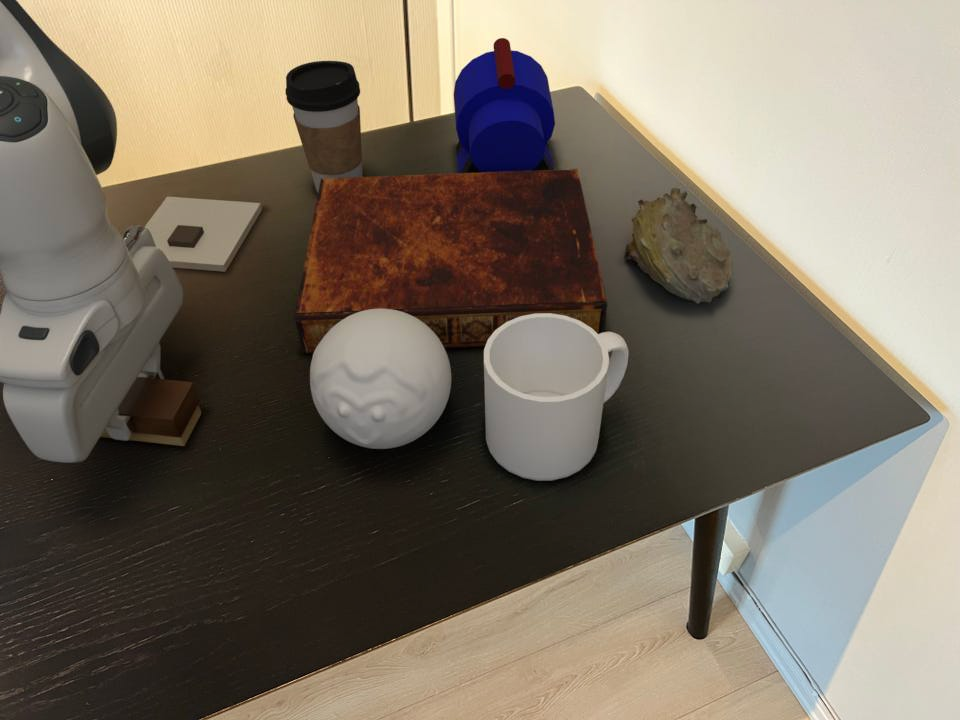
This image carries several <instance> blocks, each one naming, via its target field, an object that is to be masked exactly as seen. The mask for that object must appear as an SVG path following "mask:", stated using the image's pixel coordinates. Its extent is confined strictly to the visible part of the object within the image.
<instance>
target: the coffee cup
mask: <svg viewBox="0 0 960 720" xmlns="http://www.w3.org/2000/svg"><path fill="white" fill-rule="evenodd" d="M285 86H286V87H285V96H286V101H287V103H288V104H289V105H290V106H291V107H292V111H293V115H292V116H293V120H294V123H295V126H296V130H297V133H298V136H299V139H300V142H301V146H302V148H303V152H304V155H305V158H306V161H307V165H308V168H309V171H310V174H311V177H312V181H313V184H314V188H315V190H316V193H317V194H318V191H319V186H320V181H321V179H323V178H349V177H364V175H363V174H364V173H363V161H362V160H363V153H362V150H363V149H362V128H361V107H360V106H359V102H358V101H359V100H358V98H359V96H360V94H361V87H360V82H359V81H358V79H357V75H356V72H355V68H354V66H353V65H352V64H351V63H349V62H345V61H339V60H317V61H311V62H306V63H302V64H300V65H297V66H295V67H294V68H292V69H290V70H289V71H288V72H287V74H286V76H285Z"/></svg>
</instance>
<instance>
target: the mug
mask: <svg viewBox="0 0 960 720" xmlns="http://www.w3.org/2000/svg"><path fill="white" fill-rule="evenodd" d="M610 352H611V355H610V354H609V353H610ZM609 355H610V356H609ZM628 362H629V348H628V345H627V343H626V341H625V338H624V337H622V336H621V335H620V334H618V333H616V332H613V331H604V333H600V334H597V333H596V332H595V331H594V330H593V329H592V328H591V327H589V326H588V325H586V324H584V323H583V322H581V321H579V320H576V319H573V318H570V317H568V316H564V315H558V314H551V313H539V314H530V315H525V316H520V317H518V318H515V319H513V320H510V321H508V322H506V323H505V324H503V325H502V326H500V327H499V328H498V329H496V330H495V331H494V332H493V334H492V335H491V336H490V337H489V339H488V340H487V343H486V346H485V347H484V349H483V381H484V384H483V385H484V420H485V421H484V422H485V423H484V424H485V442H486V444H487V448H488V451H489V454H490V455H491V456H492V458H493V459H494V460H495V461H496V463H497V464H498V465H500V467H502V468H504V469H505V470H506V471H507V472H508V473H511V474H513V475H516V476H518V477H520V478H522V479H528V480H532V481H539V482H540V481H541V482H543V481H547V482H548V481H556V480H559V479H565V478H568V477H570V476H572V475H574V474H576V473H579V472H580V471H581V470H582V469H584V468H585V467H586V466H587V465H588V464H589V463H590V462H591V461H592V459H593V457H594V455H595V454H596V452H597V448H598V444H599V439H600V432H601V431H600V430H601V424H602V418H603V417H602V416H603V411H604V404H605V403H606V402H607V401H608V400H609V399H610V398H612V397H613V395H614V394H615V392H616V391H617V390H618V389H619V387H620V385H621V383H622V381H623V379H624V377H625V373H626V371H627V367H628Z"/></svg>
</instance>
